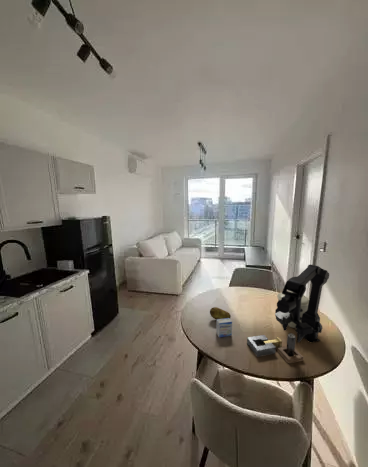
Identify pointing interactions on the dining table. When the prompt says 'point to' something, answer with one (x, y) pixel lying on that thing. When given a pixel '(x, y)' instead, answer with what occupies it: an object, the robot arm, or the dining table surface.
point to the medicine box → (224, 327)
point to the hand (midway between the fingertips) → (291, 335)
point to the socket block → (262, 349)
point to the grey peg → (290, 344)
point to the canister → (303, 306)
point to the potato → (219, 313)
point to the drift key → (274, 342)
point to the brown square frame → (295, 358)
